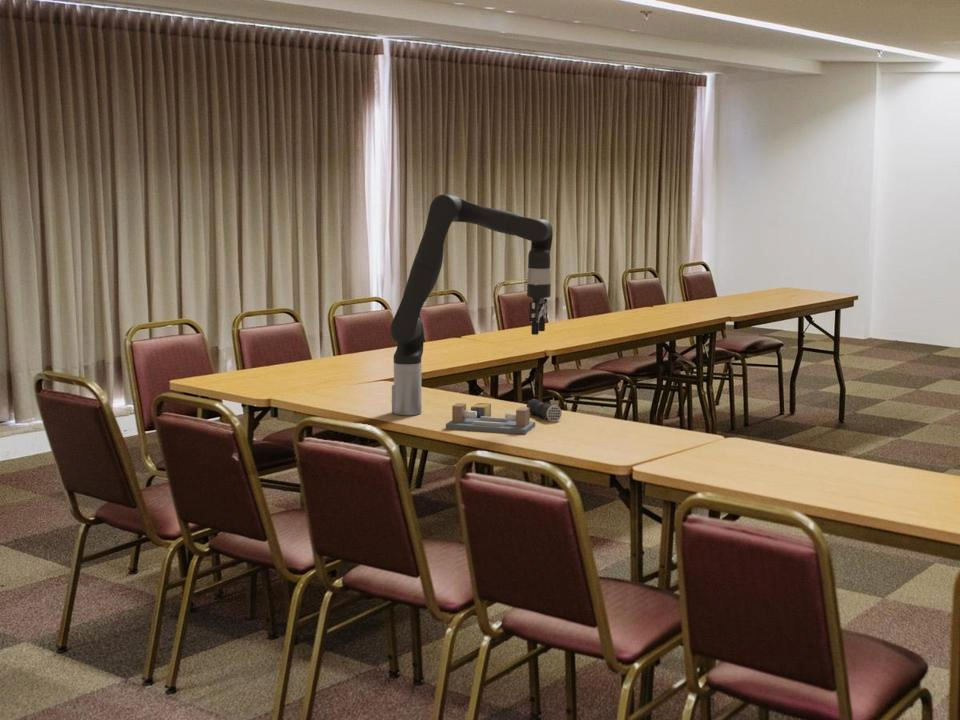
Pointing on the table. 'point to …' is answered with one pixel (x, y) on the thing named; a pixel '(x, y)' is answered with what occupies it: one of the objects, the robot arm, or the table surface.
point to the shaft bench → (490, 421)
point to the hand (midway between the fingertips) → (538, 332)
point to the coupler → (482, 409)
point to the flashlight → (544, 410)
